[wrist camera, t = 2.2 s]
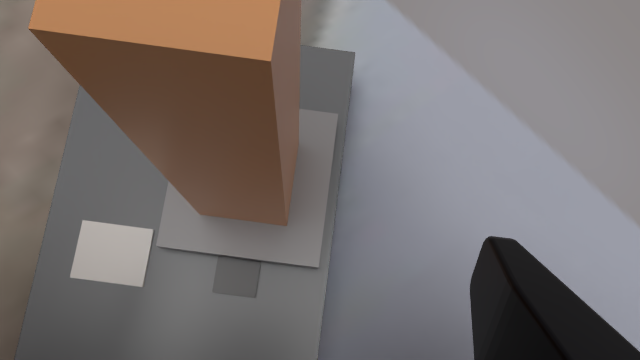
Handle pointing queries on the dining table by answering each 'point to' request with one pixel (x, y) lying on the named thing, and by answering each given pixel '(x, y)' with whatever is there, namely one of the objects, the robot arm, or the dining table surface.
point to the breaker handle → (208, 115)
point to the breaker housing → (167, 256)
